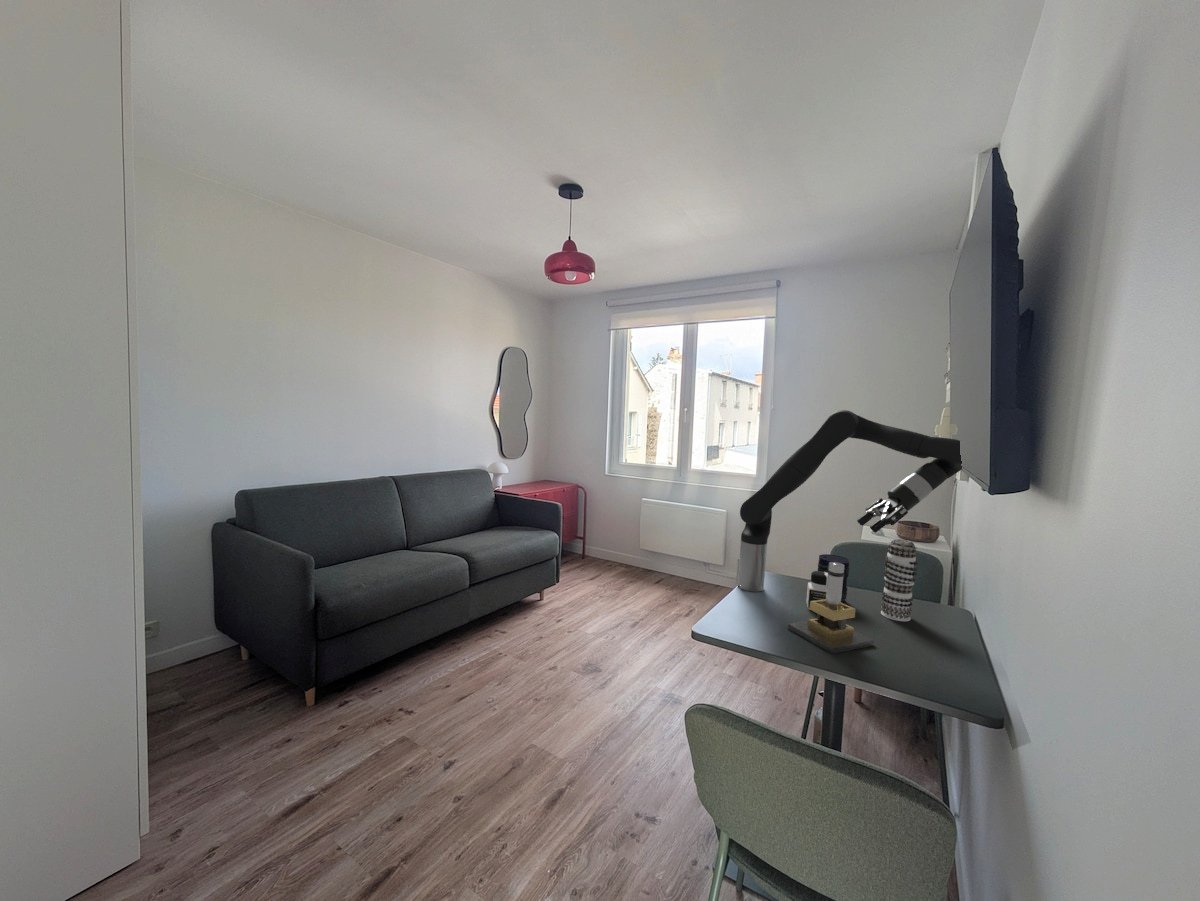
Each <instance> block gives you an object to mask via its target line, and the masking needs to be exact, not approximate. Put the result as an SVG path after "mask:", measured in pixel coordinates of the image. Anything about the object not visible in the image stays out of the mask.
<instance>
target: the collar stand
mask: <svg viewBox="0 0 1200 901" xmlns="http://www.w3.org/2000/svg"><path fill="white" fill-rule="evenodd" d="M825 601H826V599H822V600H815V601H810V611H812V612H814V613H816V618H809V619H808V620H803V621H796V622H793V623H792V622H791V623H788V624H787V625H788V626H787V629H788V630H789V631H791V632H792V633H795V634H796V635H798V636H801V637H802V638H804V639H805V640H807V641H809V642H811V643H813V644H814V645H816V646H817V647H820V649H823V650H824V651H826V652H828V653H830V654H832V655H833V654H838V653H843V652H848V651H853V650H858V649H864V648H868V647H872V646H873V647H874V646H875V639H873V638H870V637H869V636H867V635H865V634H862V633H860V632H858V631H856V630H855V627H854V626H852V625H849V624H847V620H848V619H854V618H856V608H855V607H853V606H849V605H847V604H843V603H841V607H840V610H831V609H829V608H827V607H825ZM824 617H826V618H828V619H830V620H832V621H837V620H838V629H830V628H828V627H826V626H824V625H823V623H824Z"/></svg>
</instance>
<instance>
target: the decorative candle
mask: <svg viewBox="0 0 1200 901" xmlns="http://www.w3.org/2000/svg"><path fill="white" fill-rule="evenodd" d="M887 544H888V552H887V554H886V555H885V557H884V560H885V561H884V566H885V567H884V568H883V570H884V572H883V576H884V580H885V582H884V587H883V591H882V597H881V599H882V601H881V603H880V604H881V607H880V610H881V611H880V615H881V616H882V617H884V618H887V619H890V620H893V621H897V622H909V621H911V619H912V618H911V616H912V609H913V608H912V607H911V606H913V601H914V599H913V586H914V585H915V581H916V579H915V578H914V576H917V573H916V572H915V571H917V570H918V569H917V567H916V565H918V564H919V563H918V561H916V559H917V557H916V553H917V552H916V551H917V549H918V547H917V546H915V544H914V542H912V541H910V540H907V539H901V538H900V539H899V538H894V539H893V540H892V541H891V542H888V543H887Z"/></svg>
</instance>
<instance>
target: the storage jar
mask: <svg viewBox="0 0 1200 901" xmlns="http://www.w3.org/2000/svg"><path fill="white" fill-rule="evenodd" d="M829 562H837V563H841V564H843V565H844V576H843V586H842V597H841V603H843V604H845V605H847V604H846V603H847V595H848V587H847V583H848V577H849V574H850V573H849V572H850V559H849V558H846V557H844V556H841V555H835V554H825V553H824V554H819V556H818V563H817V571H823V572H826V573H828V568H829Z"/></svg>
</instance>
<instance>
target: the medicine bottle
mask: <svg viewBox="0 0 1200 901" xmlns="http://www.w3.org/2000/svg"><path fill="white" fill-rule="evenodd" d="M810 575H811V576H810V582H807V590H806V606H807V609H808V610H810V601H815V600H822V599H826V590H827V579H828V573H826V572H823V571H818V570H814V571H812V572H811V574H810ZM810 611H811V610H810Z"/></svg>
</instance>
